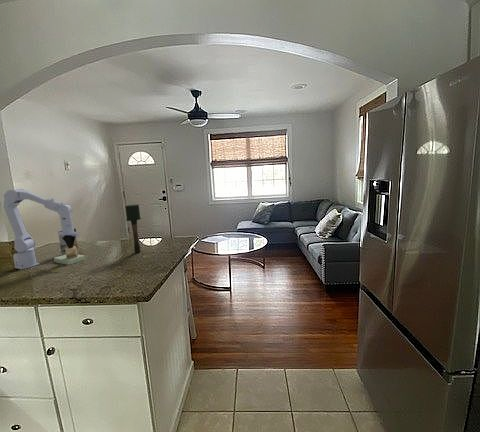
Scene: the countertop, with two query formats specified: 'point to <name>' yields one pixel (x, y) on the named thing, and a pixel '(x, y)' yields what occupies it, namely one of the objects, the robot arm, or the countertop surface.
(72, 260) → the board
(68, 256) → the peg
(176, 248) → the countertop surface
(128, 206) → the stick grenade
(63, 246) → the coffee box
